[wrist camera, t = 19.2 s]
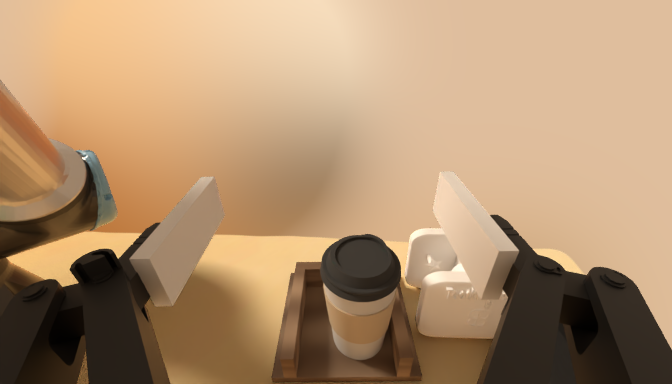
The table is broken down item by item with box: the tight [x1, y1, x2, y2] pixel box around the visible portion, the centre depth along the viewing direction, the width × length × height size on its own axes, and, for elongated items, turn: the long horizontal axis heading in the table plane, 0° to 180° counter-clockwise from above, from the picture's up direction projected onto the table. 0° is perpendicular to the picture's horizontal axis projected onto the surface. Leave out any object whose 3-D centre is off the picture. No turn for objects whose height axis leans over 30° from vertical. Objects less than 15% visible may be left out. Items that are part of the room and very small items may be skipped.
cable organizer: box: [405, 228, 508, 339], centre depth 39 cm, size 15×11×12 cm
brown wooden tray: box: [272, 262, 422, 382], centre depth 39 cm, size 16×18×5 cm
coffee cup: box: [320, 234, 401, 360], centre depth 34 cm, size 9×9×15 cm
